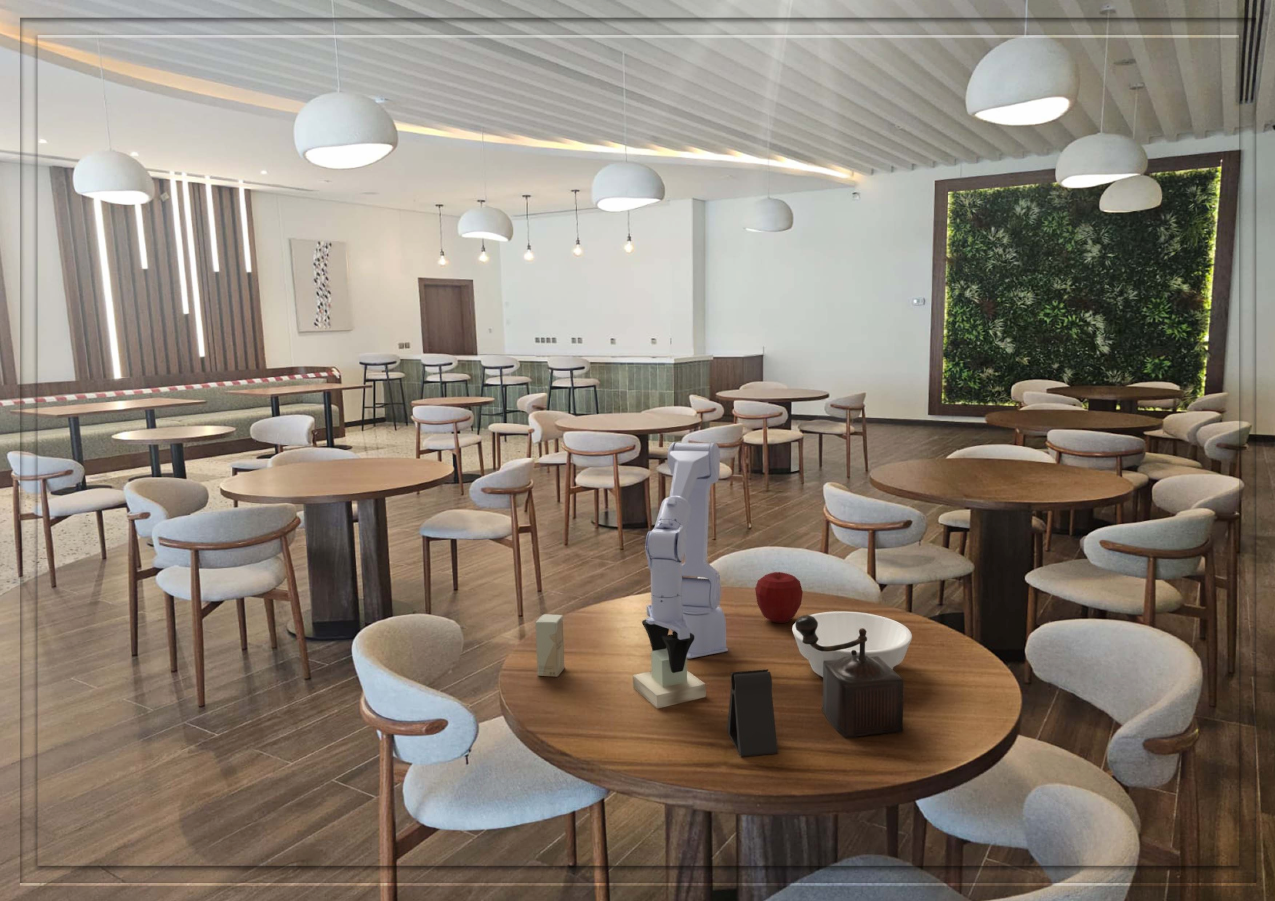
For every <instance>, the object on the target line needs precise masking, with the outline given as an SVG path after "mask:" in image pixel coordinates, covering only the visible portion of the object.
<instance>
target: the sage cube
mask: <svg viewBox="0 0 1275 901" xmlns="http://www.w3.org/2000/svg"><path fill="white" fill-rule="evenodd" d="M650 666H651V668H650V669H651V674H652V678H653V679H654V680H655V681H656V682H658V683H659V684H660V685H661V686H662V687H666V686H671V685H676V684H681V683H686V682H687V671H688V658H687V656H686V660H685V665H684V669H683V671H681V672H676V673H673V672H671V668H670V663H669V655H668V651H667V649H661V650H656V651H652V650H651V651H650Z"/></svg>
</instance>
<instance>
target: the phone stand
mask: <svg viewBox="0 0 1275 901" xmlns="http://www.w3.org/2000/svg"><path fill="white" fill-rule="evenodd" d="M772 686H773V680H772V674H771V671H769V669H766V668H765V669H757V670H755V669H754V670H745V671H742V670H741V671H732V672H731V674H730V695H729V703H728V704H729V705H728V712H727V713H728V714H727V716H728V717H727V723H726V724H727V726H726V732H727V733H728V735H729V738H730V740H731V741H732V743H733V745H734V747H735V749H736V751H737V753H738V755H739V757H740V756H741V757H740V758H745V757H757V756H767V755H777V754H778V753H779V749H778V741H777V739H778V738H777V731H776V720H775V709H774V702H773V688H772Z"/></svg>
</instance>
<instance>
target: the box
mask: <svg viewBox="0 0 1275 901" xmlns="http://www.w3.org/2000/svg"><path fill="white" fill-rule="evenodd" d="M564 638H565V637H564V616H563V614H551V613H550V614H549V613H544V614H542V615H541V616H540V617H539V618H538V619H537V620H536V621H535V641H536V643H535V644H536V664H537V667H536V668H537V676H541V677H543V676H544V677H559V676H560V674H561V673H562V672H563V670H564V669H565V645H564V644H565V642H564V641H565V640H564Z"/></svg>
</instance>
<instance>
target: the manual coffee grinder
mask: <svg viewBox="0 0 1275 901" xmlns="http://www.w3.org/2000/svg"><path fill="white" fill-rule="evenodd" d="M810 615H811V614H805V615H804V614H803V615H802V616H799V617H798V618H797V619H796V620H795V622H796V624H795V623H794V624H795V626H796V630H797V631H799V632H800V633H801V634H802V636H803V641H802V642H803V643H804V644H810V645H811V646H812V647H813V648H815V649H816V650H819V651H826V652H828V651H837V650H841V649H846V648H850V647H854V646H856V645H858V644H860V652H859V655H857V652H856V651H855V650H852V651H851V654H852V656H847V657H843V658H841V659H836V660H824V661H823V677H822V707H821V711H822V712H823V715H824V716H825V717H826V719H827V721H828V722H829V723H830V724H831V726H832V727H833V729H835V730H836V731H837V733H839V734H840V735H841V736H842V737H843V738H845V739H856V738H857V739H858V738H869V737H878V736H879V737H880V736H885V735H887V736H888V735H893V734H899V733H900V734H901V733H903V732H904V679H903V678H902V677H901V676H900V675H899V674H898V673H897V672H896V671H895V670H892V669H891V668H890V667H889V666H888V665H887V664H886V663H885V662H883V661H882V660H881V659H880V658H879V657H878V656H874V657H868V656H866V655H865V642H866V641H867V637H866V632H867V631H866V630H865V629H864V628H861V629H860V630H859V634H860V636H859V637H858V639H856V640H854V641H851V642H849V643H844V644H840V645H835V646H820V645H818V644H817V641H818V637H817V635H816V633H815V632H816V629H817V627H818V622H817V621H816V619H815V618H814V617H813V616H810Z"/></svg>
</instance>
